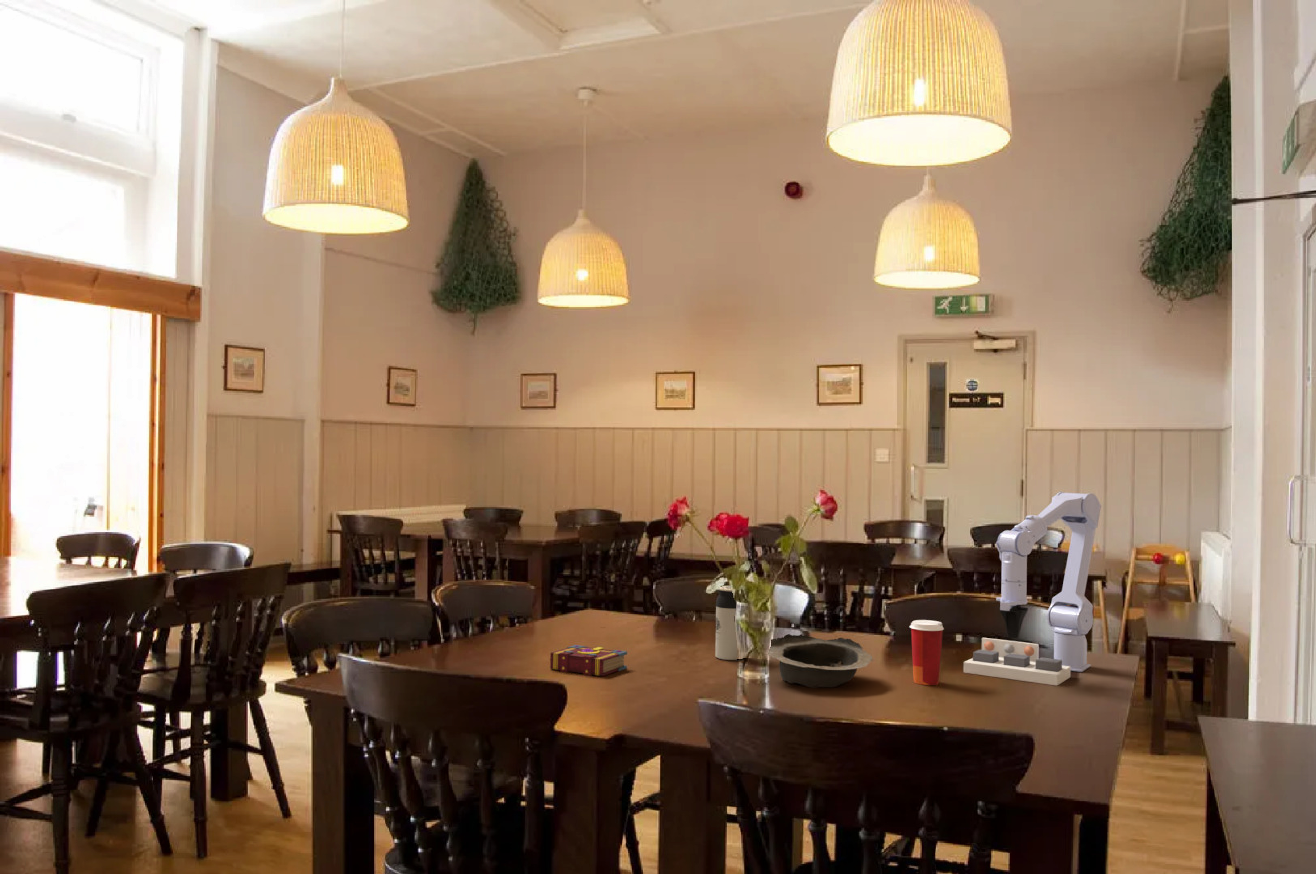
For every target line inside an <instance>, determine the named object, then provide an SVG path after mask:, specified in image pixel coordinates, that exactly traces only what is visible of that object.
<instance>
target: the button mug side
mask: <svg viewBox="0 0 1316 874" xmlns="http://www.w3.org/2000/svg"><path fill="white" fill-rule="evenodd" d="M972 658H973V661H979V662H986V663H995V662H997V661H999V652H995V651H987V650H982V649H977V650H975V651H973V652H972Z"/></svg>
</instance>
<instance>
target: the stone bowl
mask: <svg viewBox="0 0 1316 874" xmlns="http://www.w3.org/2000/svg"><path fill="white" fill-rule="evenodd" d="M770 639H771V638H770ZM863 649H864V648H863V646H861V644H860V643H859V642H856V641H853V640H852V639H851V638H843V637H838V638H834V639H831V638H830V639H826V640H825V639H822V638H817V637H813V636H809V635H808V634H805V635H803V634H802V633H801V634H799V635H796V634H793V635H792V634H790V633H788V634H786V635H784V636H782V637H777V638H772V639H771V647H770V649H769V652H768V654H767V653H766V655H767V656H769V657H771V658H773V659H777V660H778V661H779V663H778V667H779V668H778V669H779V674H780V675H779V676H780V677H781V679H782V681H784V682H787V683H789V684H798V685H801V686H805V687H807V688H810V689H816V688H836V687H838V686H840V685H841V684H845V683H848V682H849V681H851V680H852V679H853V678H854V676H855V675H856V673H857V670H858V669H860V668H865V667H867V666H868V665H869V663H870V662H872V661H874V659H873V656H872V654H871V653H868V652H867V651H866V650H863Z"/></svg>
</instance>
